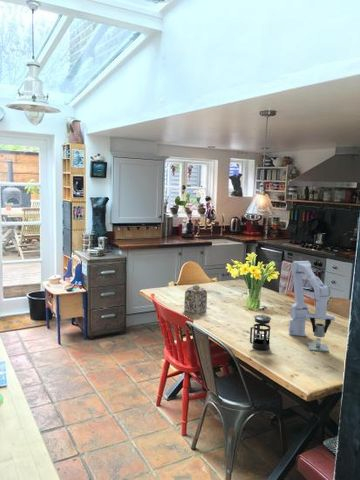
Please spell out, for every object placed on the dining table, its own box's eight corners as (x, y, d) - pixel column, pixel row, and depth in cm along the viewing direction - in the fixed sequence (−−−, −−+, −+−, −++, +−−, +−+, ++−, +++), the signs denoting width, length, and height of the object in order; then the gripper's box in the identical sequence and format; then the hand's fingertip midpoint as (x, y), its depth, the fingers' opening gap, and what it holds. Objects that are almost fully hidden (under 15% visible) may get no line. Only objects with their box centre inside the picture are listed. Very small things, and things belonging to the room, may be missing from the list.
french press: (266, 343, 226) (268, 303, 223) (273, 350, 217) (276, 308, 214) (246, 344, 223) (248, 304, 220) (253, 351, 214) (255, 309, 211)
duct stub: (309, 350, 218) (309, 341, 217) (307, 343, 227) (308, 334, 227) (328, 352, 215) (329, 343, 215) (326, 345, 225) (327, 336, 224)
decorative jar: (197, 314, 274) (198, 288, 272) (183, 311, 281) (184, 285, 279) (207, 310, 284) (208, 285, 281) (193, 307, 290) (194, 282, 288)
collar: (314, 336, 219) (315, 326, 218) (313, 333, 224) (314, 322, 223) (325, 337, 218) (325, 326, 217) (323, 334, 223) (324, 323, 222)
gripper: (307, 308, 216) (306, 333, 218) (336, 311, 213) (334, 335, 215) (306, 305, 223) (305, 328, 225) (334, 307, 220) (332, 331, 222)
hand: (319, 332), depth 221 cm, fingers closed on collar, 5 cm apart
